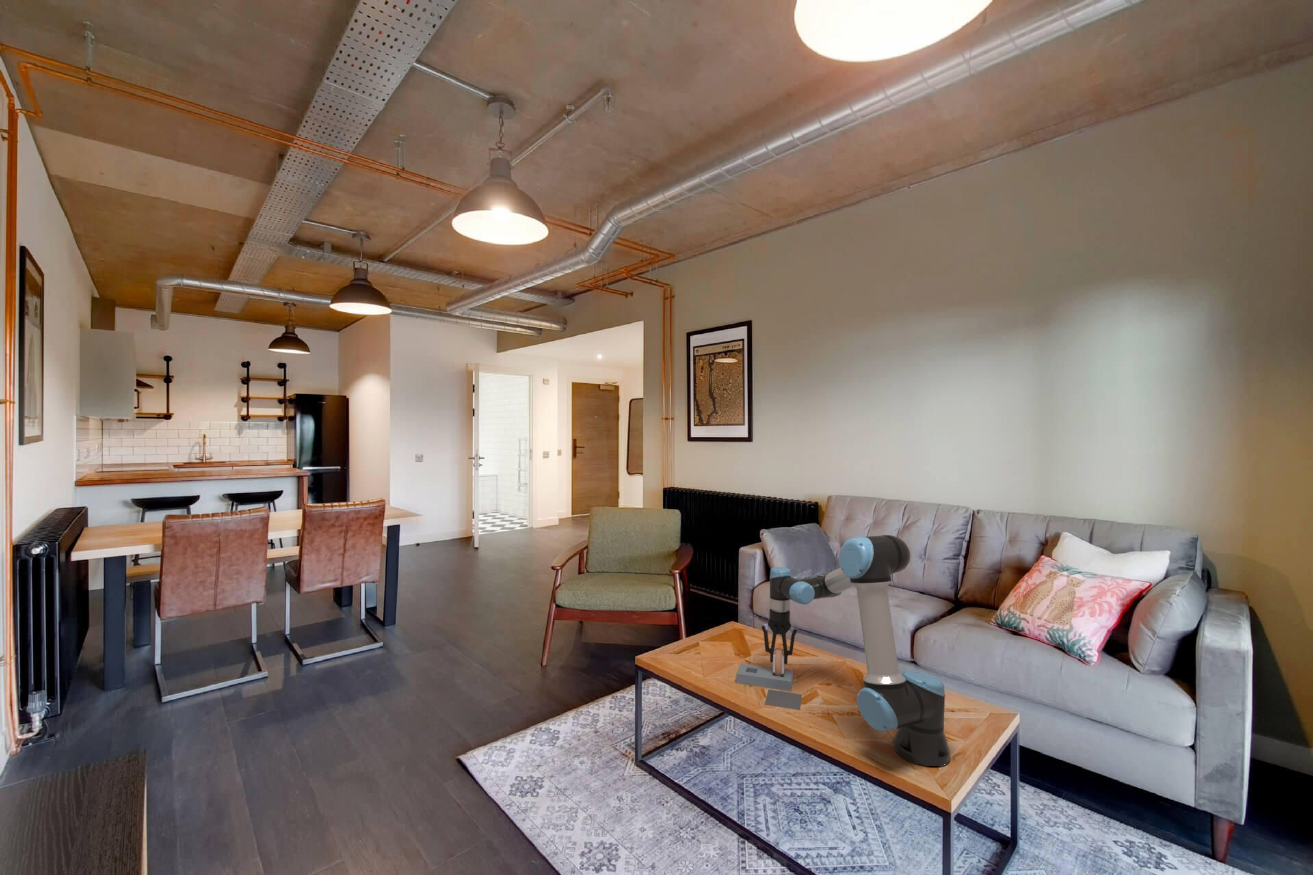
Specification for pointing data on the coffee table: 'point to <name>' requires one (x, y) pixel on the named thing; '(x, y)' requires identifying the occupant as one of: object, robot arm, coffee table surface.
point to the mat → (783, 699)
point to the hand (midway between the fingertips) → (778, 671)
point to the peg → (778, 662)
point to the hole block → (764, 677)
